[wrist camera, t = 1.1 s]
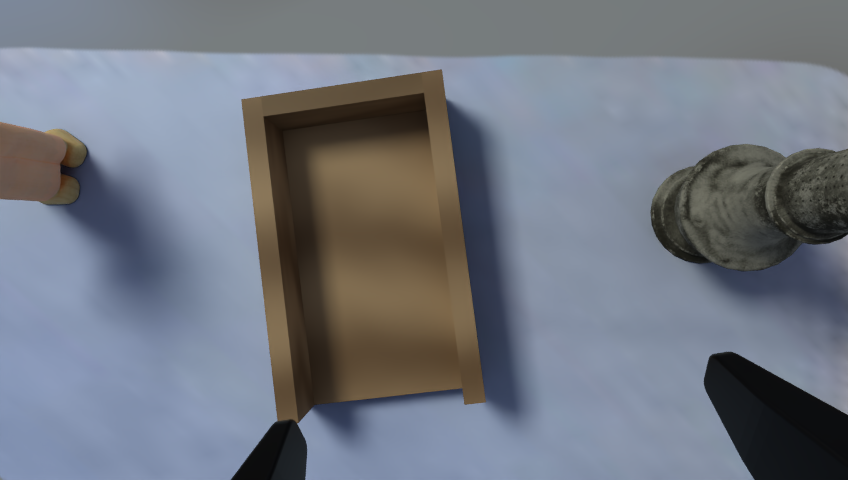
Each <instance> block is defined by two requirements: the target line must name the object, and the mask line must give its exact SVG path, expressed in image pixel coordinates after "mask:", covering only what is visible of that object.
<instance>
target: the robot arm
mask: <svg viewBox="0 0 848 480" xmlns="http://www.w3.org/2000/svg"><path fill="white" fill-rule="evenodd" d="M704 386H705V390H706V392H707V394H708V396H709V398H710V400H711V402H712V404H713V406H714V407H715V409H716V411H717V413H718V415H719V417H720V419H721V421H722V423H723V425H724V427H725V428H726V430H727V432H728V434H729V436H730V438H731V440H732V442H733V444H734V446H735V448H736V449H737V451H738V453H739V455H740V457H741V459H742V460H743V462H744V464H745V465H746V467H747V469H748V470H749V472H750V473H751V475H752V476H753V478H754V480H848V415H847V414H845V413H843V412H841V411H840V410H838V409H836V408H834V407H832V406H831V405H829V404H827V403H825V402H823V401H822V400H820V399H818V398H816V397H814V396H812V395H811V394H809V393H807V392H805V391H803V390H802V389H800V388H798V387H796V386H794V385H793V384H791V383H789V382H787V381H785V380H783V379H782V378H780V377H778V376H776V375H774V374H773V373H771V372H769V371H767V370H765V369H764V368H762V367H760V366H758V365H756V364H754V363H753V362H751V361H749V360H747V359H745V358H744V357H742V356H740V355H738V354H736V353H733V352H723V353H717V354H712V355H711V356H710V357H709V360H708V364H707V369H706V373H705V377H704ZM306 461H307V444H306V441H305V438H304V436H303V434H302V432H301V431H300V429H299V427H298V425H297V423H296V421H295V420H293V419H288V420H281V421H277V422H275V423H274V424H273V425H272V426H271V427H270V429H269V430H268V431H267V433H266V434H265V435H264V437H263V438H262V439H261V441H260V442H259V443H258V445H257V446H256V447H255V448H254V450H253V451H252V452H251V454H250V455H249V456H248V458H247V459H246V460H245V462H244V463H243V464H242V466H241V467H240V468H239V470H238V471H237V472H236V474H235V475H234V476H233V478H232V479H231V480H305V476H306Z"/></svg>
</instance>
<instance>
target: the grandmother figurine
mask: <svg viewBox="0 0 848 480" xmlns="http://www.w3.org/2000/svg"><path fill="white" fill-rule="evenodd" d="M86 154H87V150H86V147H85V145H84V144H83V143H82V142H80V141H79V140H77V139H76V138H75V137H73V136H72V135H71V134H69V133H68V132H66V131H64V130H62V129H52V130H49V131H46V132H41V131H37V130H34V129H30V128H25V127H20V126H16V125H12V124H7V123H2V122H0V199H8V200H28V201H39V202H41V203H43V204H70V203H73V202H74V201H75V200H76V199H77V198H78V196H79V189H80V186H79V183H78V181H77V180H76V179H75V178H73V177H71V176H67V175H64V174H61V173H60V168H61V167H60V164H62V165H65V166H68V167H78V166H79V165H81V164H82V163H83V161H84V159H85V157H86Z"/></svg>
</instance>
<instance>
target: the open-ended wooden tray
mask: <svg viewBox="0 0 848 480" xmlns="http://www.w3.org/2000/svg"><path fill="white" fill-rule="evenodd" d="M241 100H242V109H243V118H244V127H245V136H246V145H247V153H248V162H249V171H250V180H251V189H252V198H253V207H254V216H255V224H256V233H257V242H258V251H259V260H260V269H261V278H262V286H263V295H264V304H265V313H266V322H267V331H268V340H269V349H270V357H271V366H272V375H273V384H274V393H275V402H276V411H277V419H278V421H281V420H288V419H293V420H295V421H296V423H299V422H300V421H301V420H302V418H303V417H304V416H305V415H306V414H307V413H308V412H309V410H310V409H311V408H312V407H313V406H314V405H317V404H326V403H335V402H344V401H353V400H362V399H371V398H379V397H388V396H397V395H406V394H415V393H424V392H433V391H442V390H451V389H460V388H462V389H463V397H464V404H465V405H466V404H475V403H484V402H486V400H485V393H484V385H483V378H482V370H481V362H480V355H479V347H478V340H477V332H476V325H475V317H474V309H473V302H472V294H471V287H470V279H469V272H468V264H467V256H466V249H465V241H464V234H463V226H462V219H461V211H460V203H459V196H458V188H457V181H456V173H455V166H454V158H453V150H452V143H451V135H450V128H449V120H448V112H447V105H446V97H445V90H444V82H443V75H442V70H435V71H428V72H422V73H415V74H408V75H402V76H395V77H388V78H382V79H375V80H368V81H362V82H355V83H348V84H342V85H335V86H328V87H322V88H315V89H308V90H302V91H295V92H288V93H282V94H275V95H268V96H262V97H255V98H248V99H241Z"/></svg>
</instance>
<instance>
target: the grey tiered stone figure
mask: <svg viewBox="0 0 848 480" xmlns="http://www.w3.org/2000/svg"><path fill="white" fill-rule="evenodd" d="M651 221H652V226H653V229H654V232H655V234H656V237H657V238H658V240H659V241H660V242H661V244H662V245H663V246H664V248H666V249H667V250H668V251H669V252H671V253H672V254H673V255H674V256H677V257H679V258H681V259H683V260H685V261H690V262H695V263H710V262H713V263H715V264H717V265H719V266H722V267H724V268H727V269H733V270H738V271H755V270H763V269H766V268H769V267H771V266H774V265H777V264H779V263H780V262H782V261H783V260H785V259H786V258H788V257H789V256H791V255H792V254H793V253H794V252H795V251H796V249H797V248H798V247H799V246H800V245H801V244H802V243H807V244H813V245H816V244H827V243H831V242H834V241H837V240H840V239H842V238H843V237H845V236H846V235H848V149H846V150H842V151H838V152H835V151H833V150H827V149H821V148H816V149H806V150H802V151H800V152H797V153H794V154H791V155H790V156H788V157H787V158H785V157H784V156H783V155H782V154H780V153H778V152H775V151H773V150H771V149H769V148H766V147H763V146H756V145H750V144H743V145H732V146H728V147H725V148H722V149H719V150H717V151H714V152H712V153H711V154H709V155H708V156H706V157H705V158H703V159H702V160H700V161H699V162H698V163H697V164H696V166H693V167H688V168H686V169H683V170H680V171H677V172H676V173H674V174H673V175H671V176H670V177H668V178H667V179H666V180H665V181H664V182H663V183H662V185H661V186H660V187H659V188H658V190H657V192H656V194H655V196H654V198H653V201H652V207H651Z"/></svg>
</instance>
